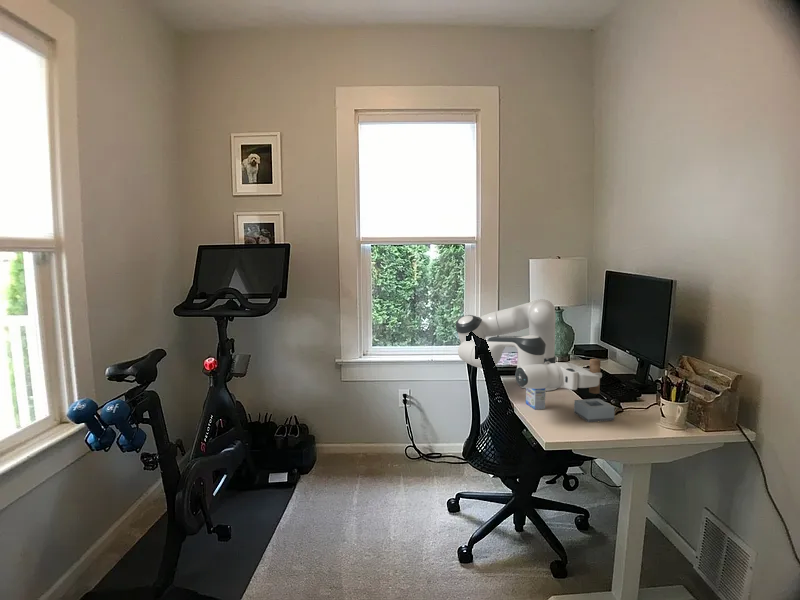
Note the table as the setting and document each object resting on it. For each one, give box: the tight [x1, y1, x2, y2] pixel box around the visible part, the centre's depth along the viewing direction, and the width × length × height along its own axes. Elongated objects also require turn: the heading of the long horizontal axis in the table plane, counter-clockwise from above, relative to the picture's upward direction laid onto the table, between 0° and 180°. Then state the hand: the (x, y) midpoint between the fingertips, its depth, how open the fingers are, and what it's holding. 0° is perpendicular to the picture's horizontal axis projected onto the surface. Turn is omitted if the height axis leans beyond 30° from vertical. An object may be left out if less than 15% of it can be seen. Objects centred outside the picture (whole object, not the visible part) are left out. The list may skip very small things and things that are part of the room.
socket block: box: [573, 398, 615, 423], centre depth 177 cm, size 10×10×5 cm
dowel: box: [588, 358, 601, 395], centre depth 176 cm, size 4×4×12 cm
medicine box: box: [525, 388, 546, 411], centre depth 189 cm, size 8×4×9 cm, turn 12°
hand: (597, 373), depth 176 cm, fingers closed on dowel, 4 cm apart
